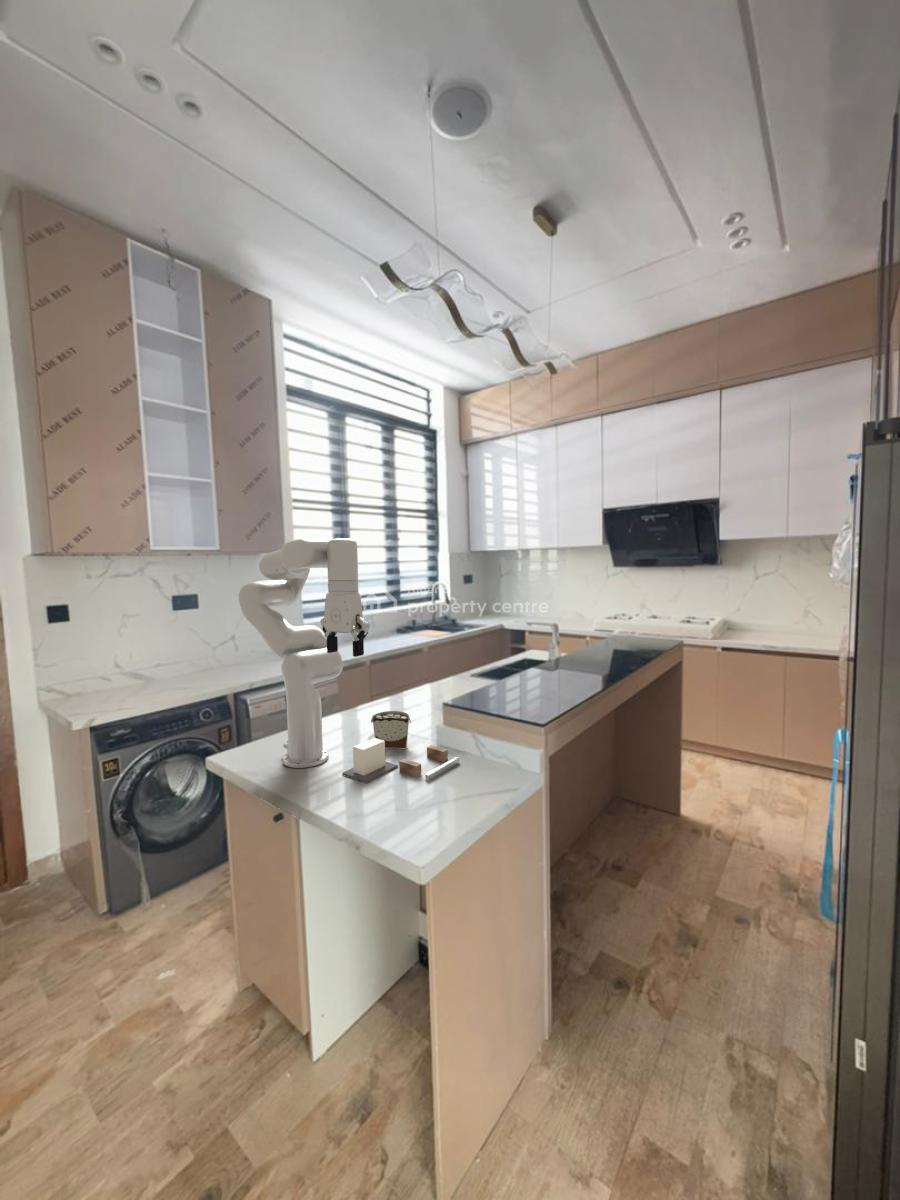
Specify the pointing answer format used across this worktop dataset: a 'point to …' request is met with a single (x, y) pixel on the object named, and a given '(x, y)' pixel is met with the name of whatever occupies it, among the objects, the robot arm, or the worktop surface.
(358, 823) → the worktop surface
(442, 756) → the blocks
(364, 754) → the cream cuboid
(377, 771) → the mat
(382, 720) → the food container
